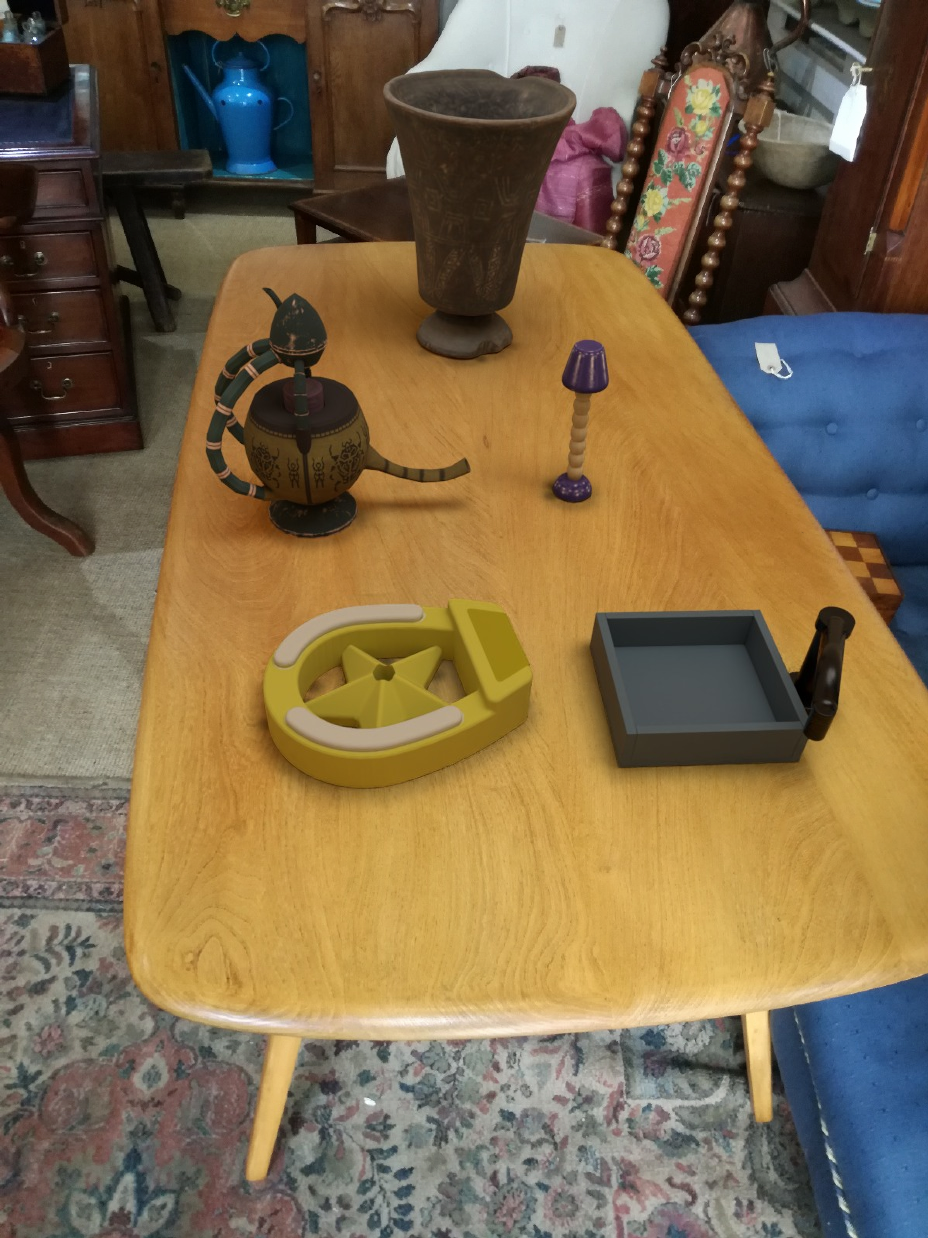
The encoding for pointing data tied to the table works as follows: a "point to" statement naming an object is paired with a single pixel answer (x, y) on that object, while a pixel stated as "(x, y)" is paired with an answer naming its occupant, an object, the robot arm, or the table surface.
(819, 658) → the spout
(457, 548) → the table surface
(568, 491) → the toy lamp
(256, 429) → the teapot
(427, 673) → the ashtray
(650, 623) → the sink
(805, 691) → the tap column
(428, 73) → the vase
